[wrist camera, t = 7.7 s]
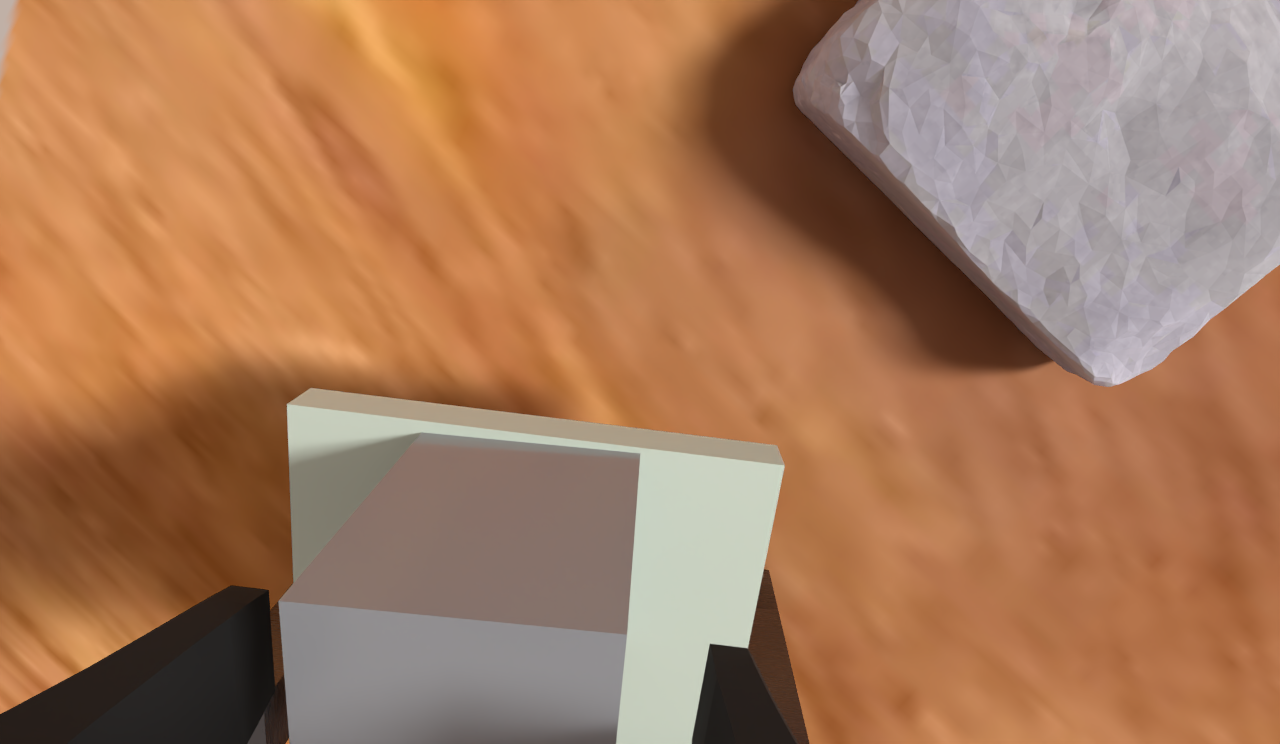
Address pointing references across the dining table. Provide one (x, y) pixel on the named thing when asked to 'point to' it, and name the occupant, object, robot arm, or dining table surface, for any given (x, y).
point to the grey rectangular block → (469, 601)
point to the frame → (762, 645)
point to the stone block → (1071, 156)
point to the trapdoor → (663, 541)
